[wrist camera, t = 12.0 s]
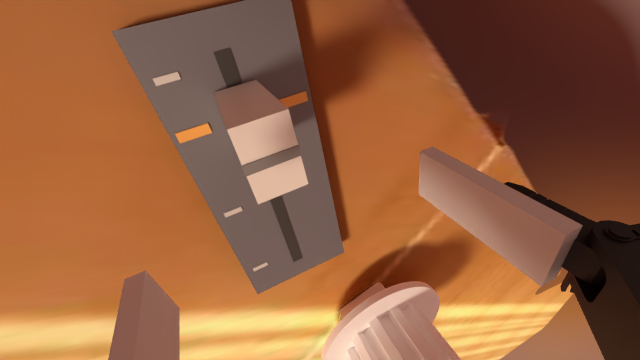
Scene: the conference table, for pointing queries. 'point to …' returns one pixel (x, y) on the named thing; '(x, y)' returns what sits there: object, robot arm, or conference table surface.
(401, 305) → the ribbed cylinder on disc
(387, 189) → the conference table surface
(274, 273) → the fader console
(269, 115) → the fader tab
